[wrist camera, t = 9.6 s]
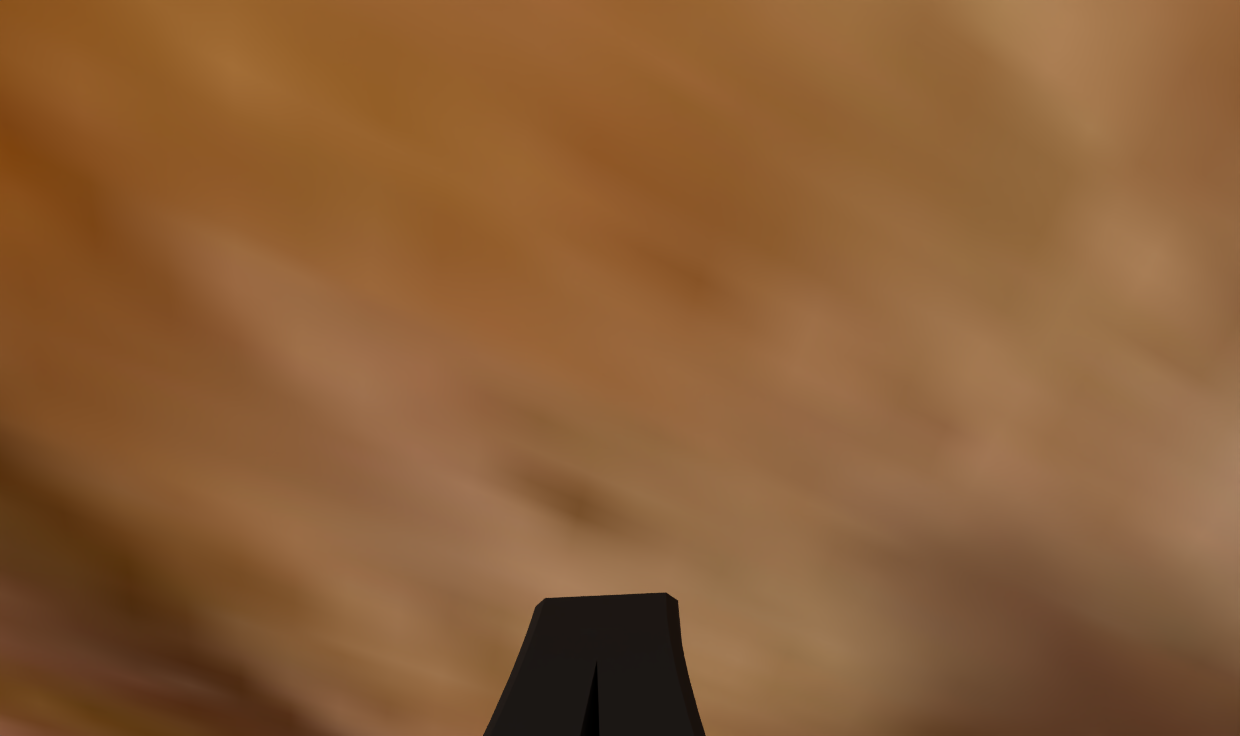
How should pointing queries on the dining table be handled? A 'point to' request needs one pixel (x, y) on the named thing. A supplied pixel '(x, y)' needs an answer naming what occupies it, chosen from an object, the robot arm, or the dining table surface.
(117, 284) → the dining table surface
